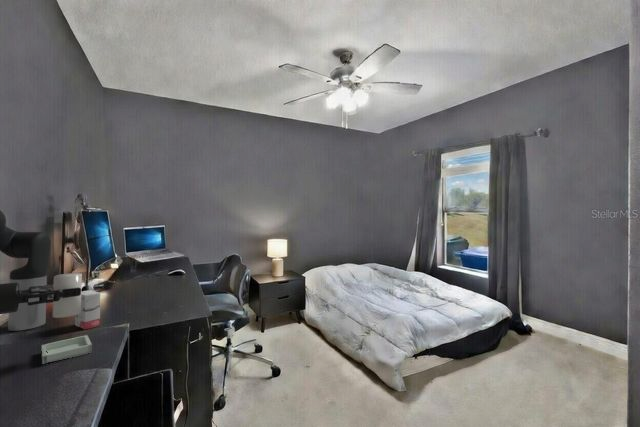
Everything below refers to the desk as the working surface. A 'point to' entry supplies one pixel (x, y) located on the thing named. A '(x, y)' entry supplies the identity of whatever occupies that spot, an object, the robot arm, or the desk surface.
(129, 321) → the desk surface
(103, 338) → the desk surface
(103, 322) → the desk surface
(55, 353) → the tray
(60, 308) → the white pillar candle
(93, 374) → the desk surface
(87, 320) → the ink box
